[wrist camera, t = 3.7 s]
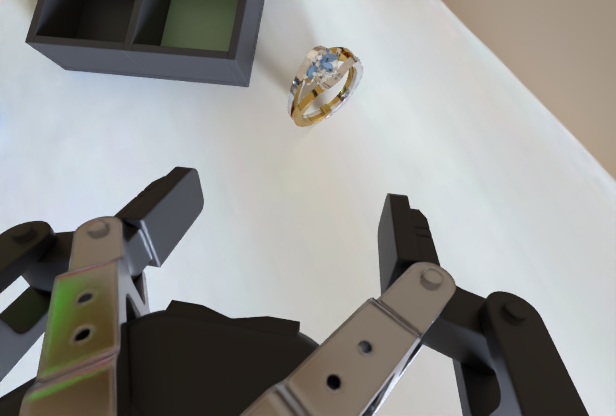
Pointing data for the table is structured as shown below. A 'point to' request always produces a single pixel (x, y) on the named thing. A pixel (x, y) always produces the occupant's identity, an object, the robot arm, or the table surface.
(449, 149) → the table surface
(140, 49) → the organizer
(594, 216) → the table surface
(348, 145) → the table surface
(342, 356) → the robot arm
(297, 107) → the ring
